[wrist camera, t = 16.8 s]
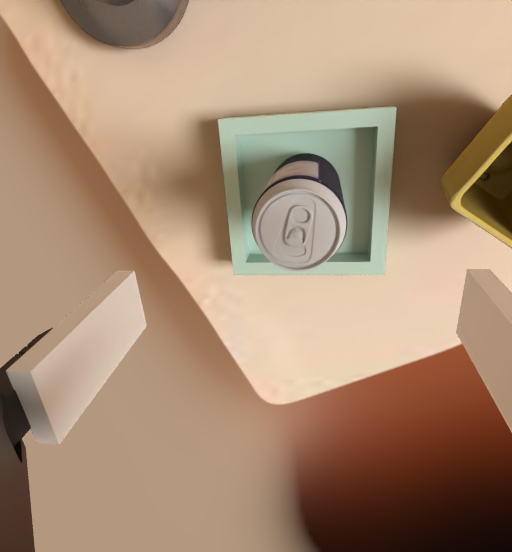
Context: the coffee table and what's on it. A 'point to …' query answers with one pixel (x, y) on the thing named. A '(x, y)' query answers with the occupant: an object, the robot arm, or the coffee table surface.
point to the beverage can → (300, 214)
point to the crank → (117, 2)
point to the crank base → (127, 20)
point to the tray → (334, 148)
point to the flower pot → (496, 188)
